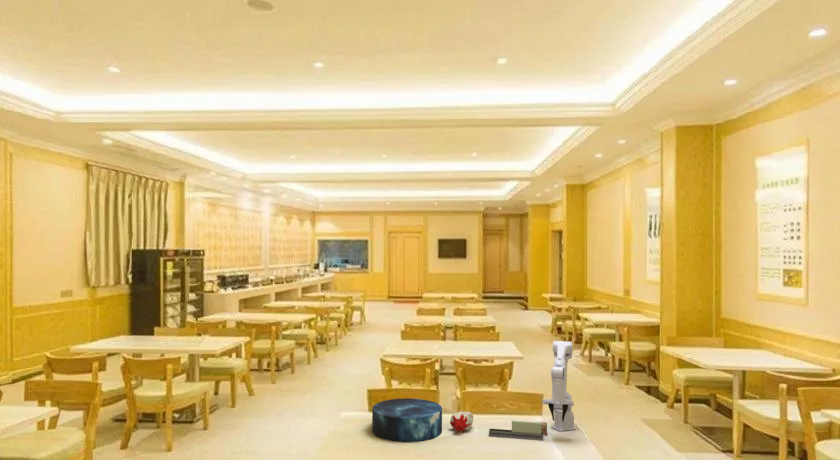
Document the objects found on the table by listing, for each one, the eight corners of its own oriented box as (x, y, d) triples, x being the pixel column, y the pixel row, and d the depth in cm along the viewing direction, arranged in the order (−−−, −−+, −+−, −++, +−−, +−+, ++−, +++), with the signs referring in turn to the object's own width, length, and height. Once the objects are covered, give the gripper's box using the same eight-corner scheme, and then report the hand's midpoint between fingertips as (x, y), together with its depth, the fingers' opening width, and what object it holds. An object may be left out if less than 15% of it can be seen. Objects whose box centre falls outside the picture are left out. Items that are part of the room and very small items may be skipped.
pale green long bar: (540, 434, 279) (541, 422, 279) (540, 436, 277) (541, 423, 277) (511, 432, 282) (511, 420, 282) (511, 433, 280) (511, 421, 280)
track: (542, 435, 281) (542, 431, 281) (543, 440, 274) (543, 435, 274) (489, 431, 286) (489, 427, 286) (488, 436, 280) (488, 431, 280)
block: (536, 431, 288) (536, 421, 288) (546, 432, 287) (546, 422, 287) (536, 435, 283) (536, 424, 283) (547, 435, 282) (547, 425, 282)
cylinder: (358, 428, 290) (358, 405, 290) (412, 416, 312) (413, 394, 312) (400, 448, 263) (400, 422, 263) (456, 433, 285) (456, 409, 285)
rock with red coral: (473, 425, 294) (470, 439, 280) (452, 424, 296) (447, 436, 282) (473, 408, 293) (470, 421, 279) (452, 407, 296) (447, 419, 281)
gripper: (542, 392, 274) (542, 421, 273) (574, 394, 271) (574, 423, 271) (542, 389, 281) (542, 417, 280) (573, 391, 278) (573, 419, 278)
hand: (558, 420), depth 276 cm, fingers open, 4 cm apart
